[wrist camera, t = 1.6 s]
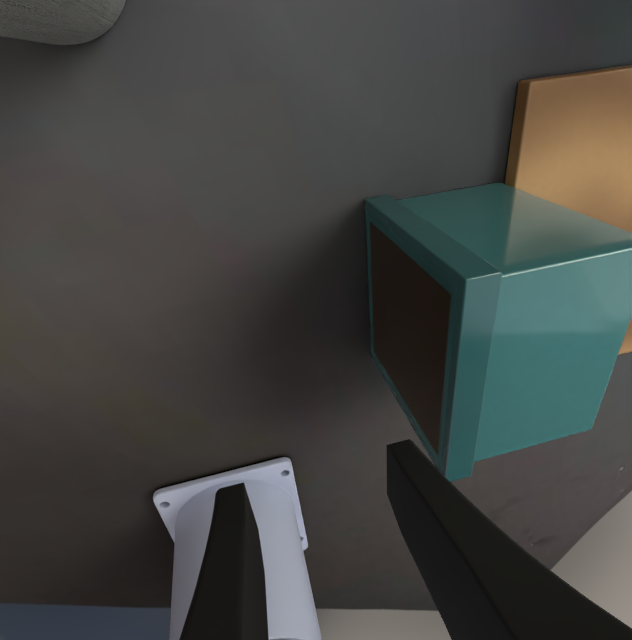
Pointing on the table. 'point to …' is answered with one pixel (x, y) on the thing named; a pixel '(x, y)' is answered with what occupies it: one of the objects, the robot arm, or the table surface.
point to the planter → (58, 19)
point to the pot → (494, 317)
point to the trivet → (577, 145)
